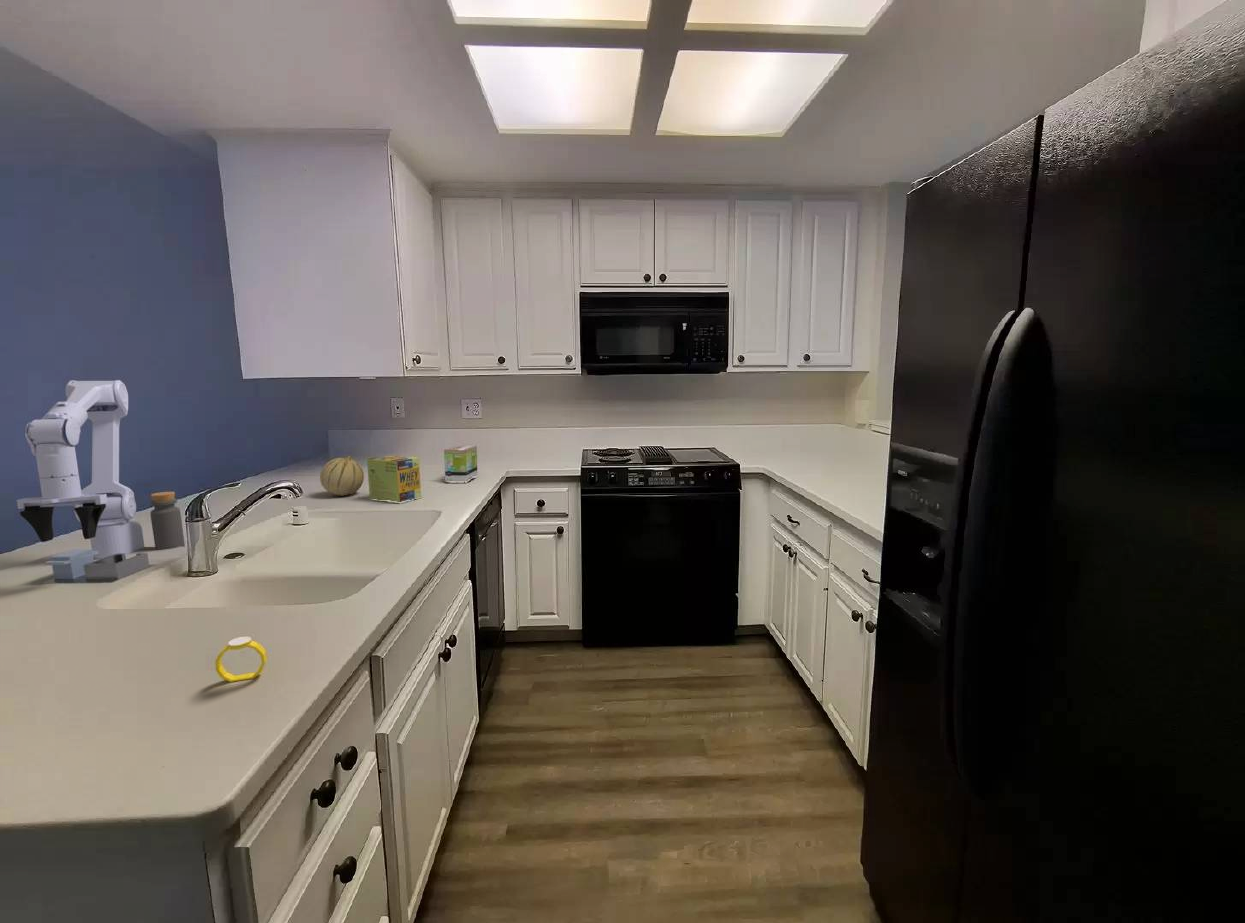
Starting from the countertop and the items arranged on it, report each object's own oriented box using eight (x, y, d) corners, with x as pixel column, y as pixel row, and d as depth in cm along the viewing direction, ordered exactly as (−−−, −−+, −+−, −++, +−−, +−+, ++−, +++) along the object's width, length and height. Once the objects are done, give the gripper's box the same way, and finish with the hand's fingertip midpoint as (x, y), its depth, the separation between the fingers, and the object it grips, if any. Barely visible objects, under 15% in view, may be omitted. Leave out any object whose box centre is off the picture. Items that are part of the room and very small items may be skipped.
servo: (84, 568, 121) (81, 547, 121) (102, 568, 121) (98, 547, 121) (48, 581, 113) (44, 558, 113) (67, 581, 114) (63, 558, 113)
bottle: (182, 544, 142) (174, 490, 140) (187, 549, 138) (180, 492, 136) (153, 550, 137) (145, 493, 135) (158, 554, 134) (150, 496, 131)
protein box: (400, 504, 188) (396, 461, 185) (369, 500, 194) (365, 458, 192) (422, 498, 197) (419, 457, 195) (392, 495, 204) (389, 455, 201)
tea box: (468, 483, 225) (466, 449, 223) (444, 483, 225) (442, 449, 223) (478, 477, 240) (476, 445, 238) (456, 477, 240) (454, 445, 238)
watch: (269, 671, 80) (268, 634, 79) (263, 681, 77) (262, 642, 76) (221, 676, 78) (219, 638, 77) (214, 686, 75) (212, 647, 74)
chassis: (91, 569, 123) (88, 551, 123) (156, 568, 124) (153, 550, 123) (40, 587, 112) (37, 568, 112) (112, 586, 113) (109, 567, 112)
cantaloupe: (317, 495, 203) (313, 456, 201) (357, 489, 213) (354, 453, 211) (329, 501, 193) (325, 460, 191) (371, 495, 203) (368, 456, 201)
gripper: (-1, 480, 106) (10, 547, 107) (85, 477, 109) (94, 541, 110) (30, 476, 112) (39, 538, 114) (110, 472, 115) (119, 533, 117)
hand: (68, 539), depth 113 cm, fingers open, 7 cm apart
